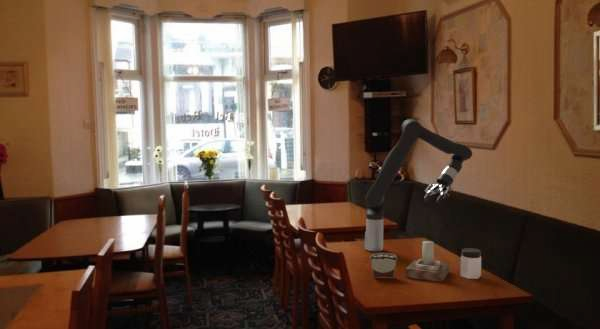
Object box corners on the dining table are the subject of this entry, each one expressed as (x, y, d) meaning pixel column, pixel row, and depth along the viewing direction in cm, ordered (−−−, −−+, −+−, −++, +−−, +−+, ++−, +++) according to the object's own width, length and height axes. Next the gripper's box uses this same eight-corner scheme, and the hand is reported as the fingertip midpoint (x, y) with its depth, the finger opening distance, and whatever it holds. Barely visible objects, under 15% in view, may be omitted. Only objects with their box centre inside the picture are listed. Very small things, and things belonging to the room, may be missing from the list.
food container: (396, 274, 234) (396, 252, 233) (397, 278, 228) (397, 256, 227) (369, 273, 235) (369, 252, 234) (369, 277, 229) (369, 255, 228)
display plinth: (405, 277, 229) (406, 265, 228) (414, 268, 243) (414, 256, 243) (442, 282, 222) (442, 269, 221) (448, 272, 236) (448, 260, 236)
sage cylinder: (421, 266, 231) (421, 242, 230) (423, 263, 236) (423, 240, 235) (432, 268, 229) (432, 244, 228) (434, 265, 234) (434, 241, 233)
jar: (484, 277, 228) (485, 251, 227) (471, 280, 224) (471, 253, 223) (470, 272, 236) (470, 246, 235) (456, 274, 232) (457, 248, 231)
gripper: (433, 171, 270) (417, 194, 265) (454, 173, 258) (438, 198, 253) (440, 180, 273) (424, 203, 268) (461, 183, 261) (445, 207, 256)
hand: (431, 200), depth 260 cm, fingers open, 8 cm apart
